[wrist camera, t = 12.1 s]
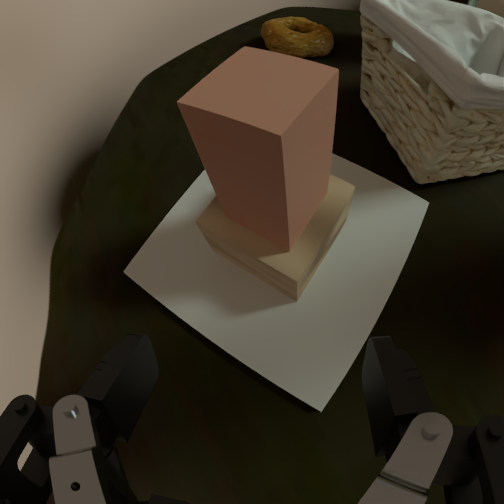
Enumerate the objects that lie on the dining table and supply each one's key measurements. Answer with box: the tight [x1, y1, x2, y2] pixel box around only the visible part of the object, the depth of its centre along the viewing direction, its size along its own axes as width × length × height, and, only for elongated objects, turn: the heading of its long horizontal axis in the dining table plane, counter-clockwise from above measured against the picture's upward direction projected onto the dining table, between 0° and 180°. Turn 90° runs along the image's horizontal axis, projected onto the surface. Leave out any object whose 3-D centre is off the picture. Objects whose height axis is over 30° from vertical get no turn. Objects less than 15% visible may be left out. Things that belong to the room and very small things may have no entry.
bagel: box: [261, 17, 334, 58], centre depth 36 cm, size 10×11×5 cm
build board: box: [124, 153, 429, 411], centre depth 25 cm, size 20×20×1 cm
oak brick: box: [195, 174, 355, 301], centre depth 23 cm, size 8×8×5 cm
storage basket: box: [360, 0, 504, 184], centre depth 22 cm, size 24×16×15 cm
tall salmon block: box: [177, 46, 339, 251], centre depth 16 cm, size 5×5×10 cm
